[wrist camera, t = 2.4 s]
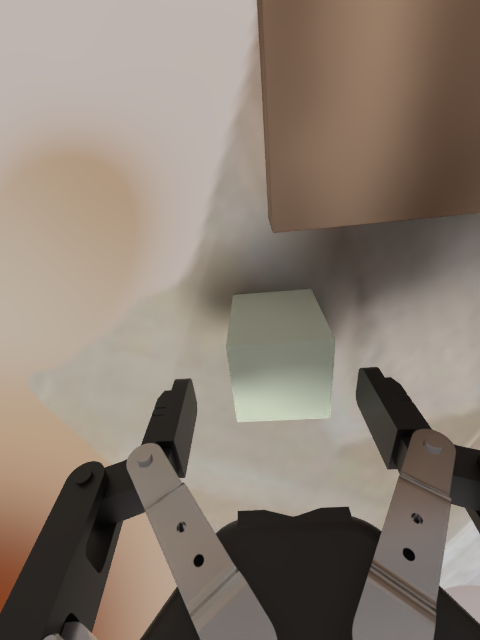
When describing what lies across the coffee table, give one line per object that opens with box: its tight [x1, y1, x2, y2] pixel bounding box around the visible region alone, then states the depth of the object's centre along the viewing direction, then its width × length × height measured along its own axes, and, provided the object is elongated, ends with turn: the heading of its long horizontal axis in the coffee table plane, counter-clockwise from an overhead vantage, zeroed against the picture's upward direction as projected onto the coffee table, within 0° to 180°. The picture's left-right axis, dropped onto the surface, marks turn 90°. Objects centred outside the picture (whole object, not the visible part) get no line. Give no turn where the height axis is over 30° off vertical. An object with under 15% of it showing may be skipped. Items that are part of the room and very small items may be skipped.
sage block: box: [226, 289, 335, 422], centre depth 17 cm, size 5×5×6 cm
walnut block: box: [257, 0, 480, 233], centre depth 11 cm, size 14×14×4 cm
